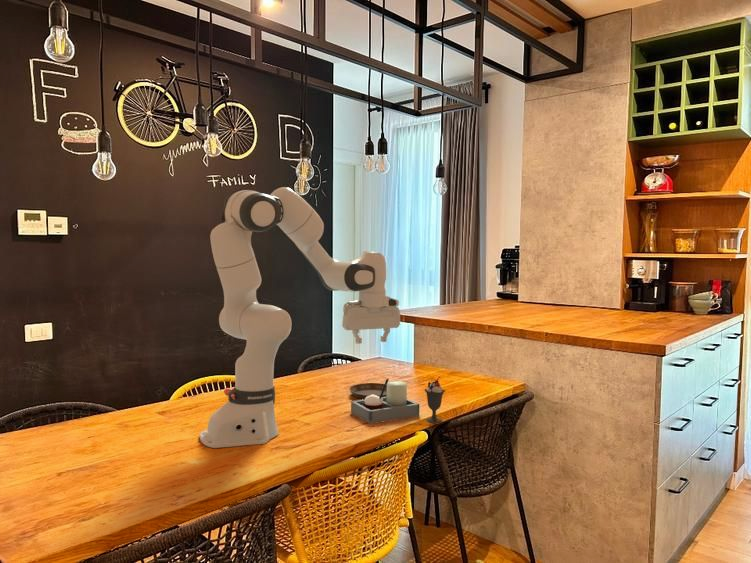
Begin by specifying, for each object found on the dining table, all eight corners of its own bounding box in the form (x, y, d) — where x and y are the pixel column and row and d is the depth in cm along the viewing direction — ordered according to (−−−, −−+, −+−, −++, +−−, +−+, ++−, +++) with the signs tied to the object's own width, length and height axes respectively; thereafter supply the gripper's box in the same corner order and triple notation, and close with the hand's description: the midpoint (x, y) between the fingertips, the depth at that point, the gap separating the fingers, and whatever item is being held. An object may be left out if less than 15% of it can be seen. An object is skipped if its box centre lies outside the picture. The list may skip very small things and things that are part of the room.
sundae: (443, 424, 179) (444, 378, 178) (422, 423, 180) (423, 376, 179) (445, 418, 185) (446, 373, 184) (425, 417, 186) (426, 372, 186)
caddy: (369, 423, 178) (369, 392, 178) (351, 413, 190) (351, 383, 189) (419, 416, 187) (419, 386, 187) (398, 406, 199) (399, 378, 198)
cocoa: (357, 414, 186) (356, 378, 186) (369, 409, 191) (368, 374, 190) (380, 418, 180) (378, 382, 180) (392, 413, 185) (390, 378, 184)
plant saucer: (386, 405, 201) (386, 396, 201) (341, 399, 207) (341, 391, 207) (402, 393, 217) (402, 385, 217) (360, 388, 224) (360, 381, 224)
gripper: (348, 302, 177) (347, 345, 178) (403, 300, 187) (402, 342, 188) (339, 300, 182) (338, 342, 183) (393, 299, 192) (392, 339, 193)
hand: (371, 342), depth 185 cm, fingers open, 8 cm apart
